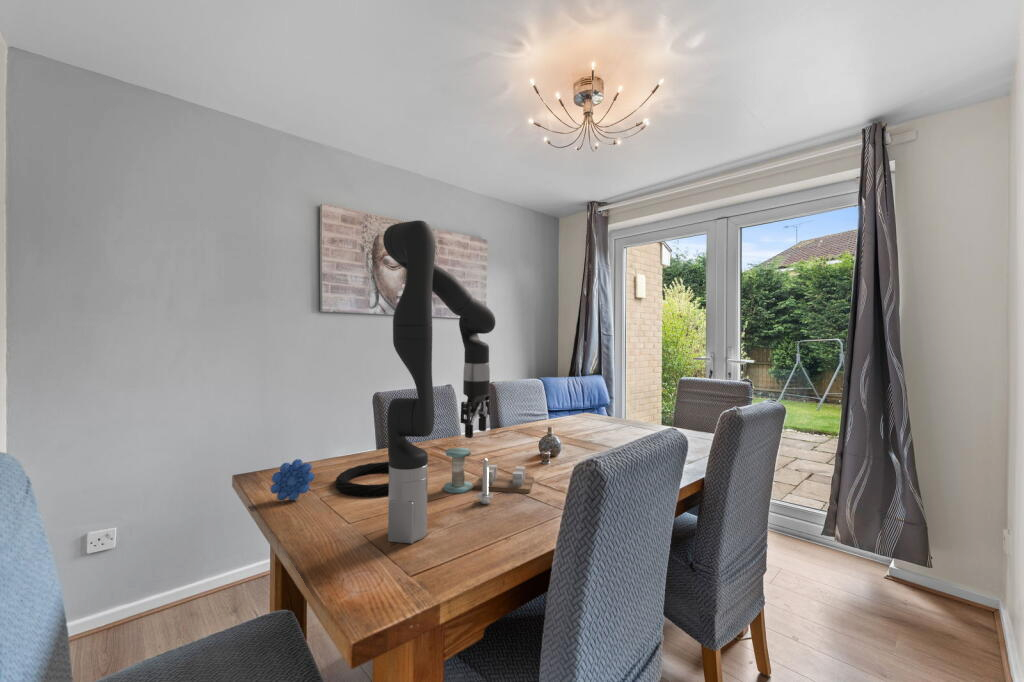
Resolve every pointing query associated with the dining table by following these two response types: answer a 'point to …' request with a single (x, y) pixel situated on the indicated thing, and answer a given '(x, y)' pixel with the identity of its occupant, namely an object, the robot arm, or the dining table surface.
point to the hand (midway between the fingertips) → (475, 434)
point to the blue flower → (292, 480)
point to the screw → (485, 485)
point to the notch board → (506, 481)
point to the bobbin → (458, 471)
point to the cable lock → (359, 488)
